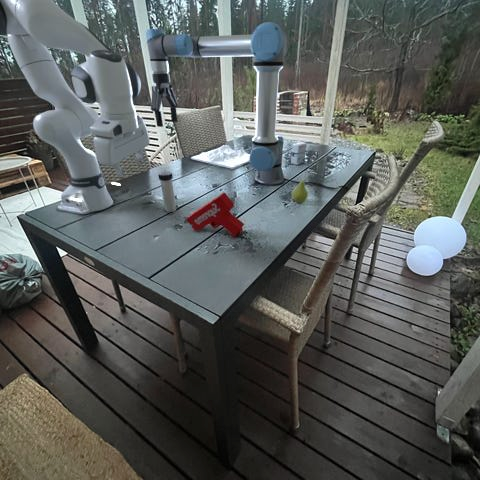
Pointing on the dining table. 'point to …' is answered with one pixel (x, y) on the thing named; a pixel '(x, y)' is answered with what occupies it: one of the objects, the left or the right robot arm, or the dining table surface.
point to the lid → (165, 175)
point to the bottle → (168, 195)
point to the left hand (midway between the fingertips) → (130, 168)
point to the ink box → (298, 153)
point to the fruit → (300, 192)
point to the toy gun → (216, 216)
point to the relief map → (224, 157)
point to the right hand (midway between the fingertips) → (167, 124)
